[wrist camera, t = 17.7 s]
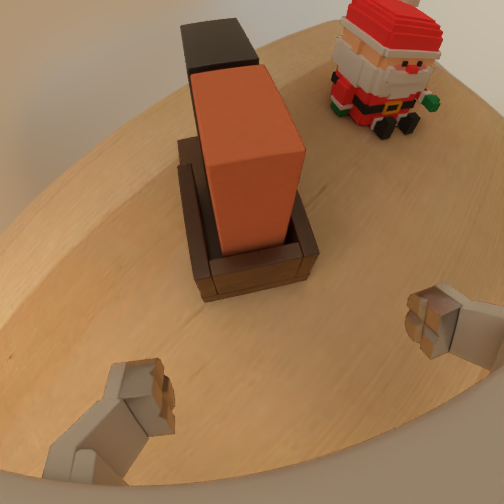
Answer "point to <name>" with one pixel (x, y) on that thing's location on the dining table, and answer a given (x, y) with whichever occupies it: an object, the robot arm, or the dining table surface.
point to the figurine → (385, 64)
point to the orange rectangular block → (247, 156)
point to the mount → (198, 194)
